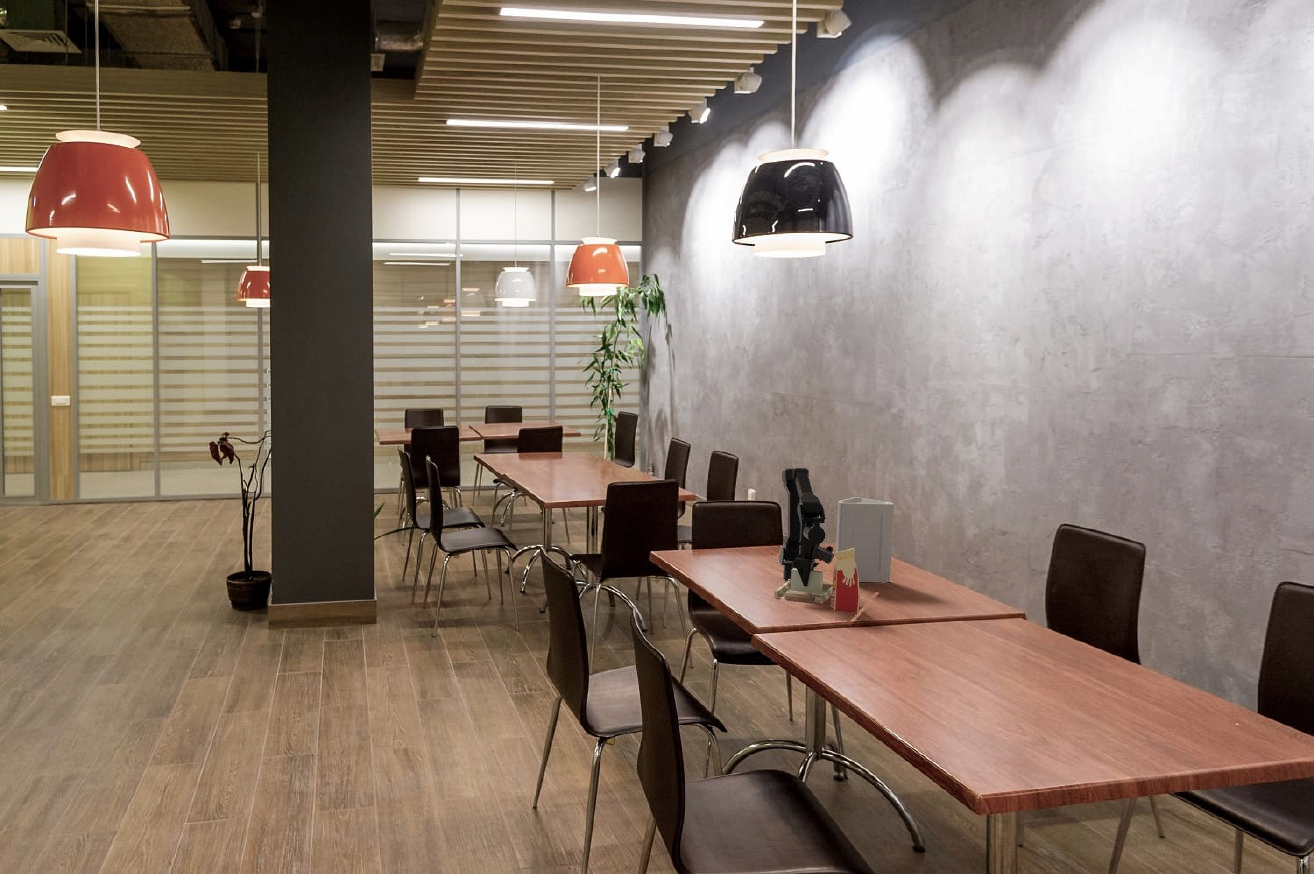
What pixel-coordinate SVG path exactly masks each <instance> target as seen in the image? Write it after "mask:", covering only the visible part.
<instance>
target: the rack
mask: <svg viewBox="0 0 1314 874" xmlns="http://www.w3.org/2000/svg"><path fill="white" fill-rule="evenodd" d="M832 586H833V583H829V582H826V583H825V582H823V588H822V593H821V594H815V593H812V596H815V600H814V601H813V602H812V603H815V604H817V603H818V604H824V603H826V601H828V600H829V599H830V597H831V596H832ZM786 591H791V579H788V581H786V582H785V583H784V584H782V585H780V586H779V587H778V588H777V589H776V590H774V593H773V596H774V597H773V598H775V599H776V598H777V599H782V600H783V599H784V600H786V599H785V593H786ZM789 600H790V601H792V599H789ZM798 601H800V600H798ZM800 602H801V601H800ZM806 602H808V601H806Z"/></svg>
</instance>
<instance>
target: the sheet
mask: <svg viewBox="0 0 1314 874" xmlns="http://www.w3.org/2000/svg"><path fill="white" fill-rule="evenodd" d="M823 580H824V571H823V570H815V569H814V570H811V572H810V576H809V581H808V586H807V587H806V586H804V585H803V583H802V580H801V577H800V575H799V573H798V571H797V569H796V568H793V569H792V570H791V591H798V592H809V593H815V594H821V593H822V588H823V583H824V581H823Z"/></svg>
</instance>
